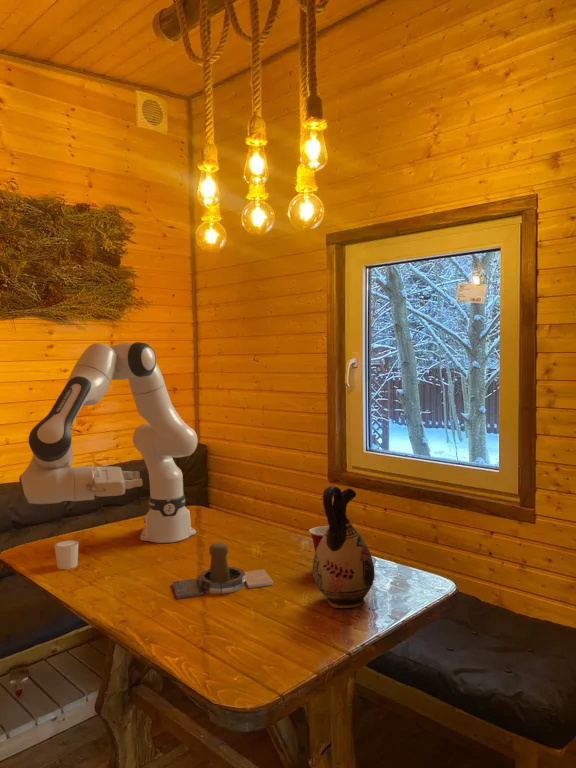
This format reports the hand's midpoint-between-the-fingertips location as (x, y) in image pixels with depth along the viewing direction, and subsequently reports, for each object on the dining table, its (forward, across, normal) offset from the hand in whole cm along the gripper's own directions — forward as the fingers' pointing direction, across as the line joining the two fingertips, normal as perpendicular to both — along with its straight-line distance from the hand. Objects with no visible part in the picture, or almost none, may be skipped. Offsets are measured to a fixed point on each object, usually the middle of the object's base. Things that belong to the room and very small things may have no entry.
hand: (141, 478), depth 166 cm
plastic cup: (+51, -6, +30) cm, 60 cm away
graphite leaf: (+17, -6, +30) cm, 35 cm away
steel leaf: (+24, -6, +30) cm, 39 cm away
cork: (+20, -4, +30) cm, 36 cm away
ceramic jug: (+46, -28, +30) cm, 62 cm away
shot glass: (-21, +25, +30) cm, 44 cm away
